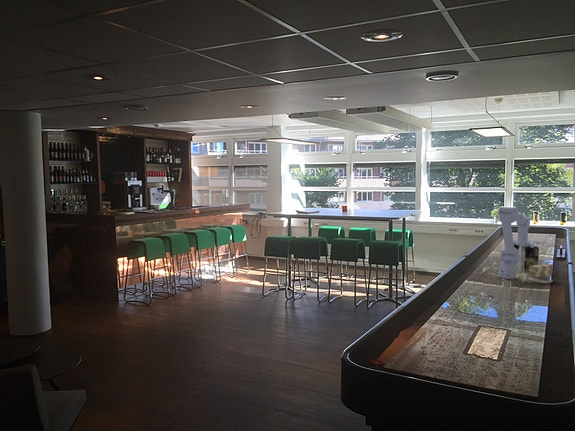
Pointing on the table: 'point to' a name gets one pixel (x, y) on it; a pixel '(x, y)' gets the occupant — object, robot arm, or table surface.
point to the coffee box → (531, 260)
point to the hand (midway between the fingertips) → (521, 257)
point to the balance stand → (541, 279)
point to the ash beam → (540, 270)
